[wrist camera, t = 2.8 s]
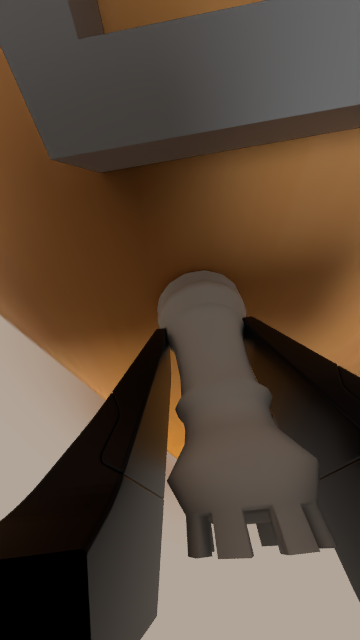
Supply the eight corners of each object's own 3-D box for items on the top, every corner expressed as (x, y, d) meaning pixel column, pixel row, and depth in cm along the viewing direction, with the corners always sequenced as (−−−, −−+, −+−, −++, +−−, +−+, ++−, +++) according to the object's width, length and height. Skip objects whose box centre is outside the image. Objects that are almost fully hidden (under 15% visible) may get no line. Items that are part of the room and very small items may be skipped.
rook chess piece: (242, 322, 10) (363, 536, 4) (175, 343, 11) (183, 548, 5) (230, 251, 8) (536, 556, 1) (142, 285, 8) (60, 576, 2)
